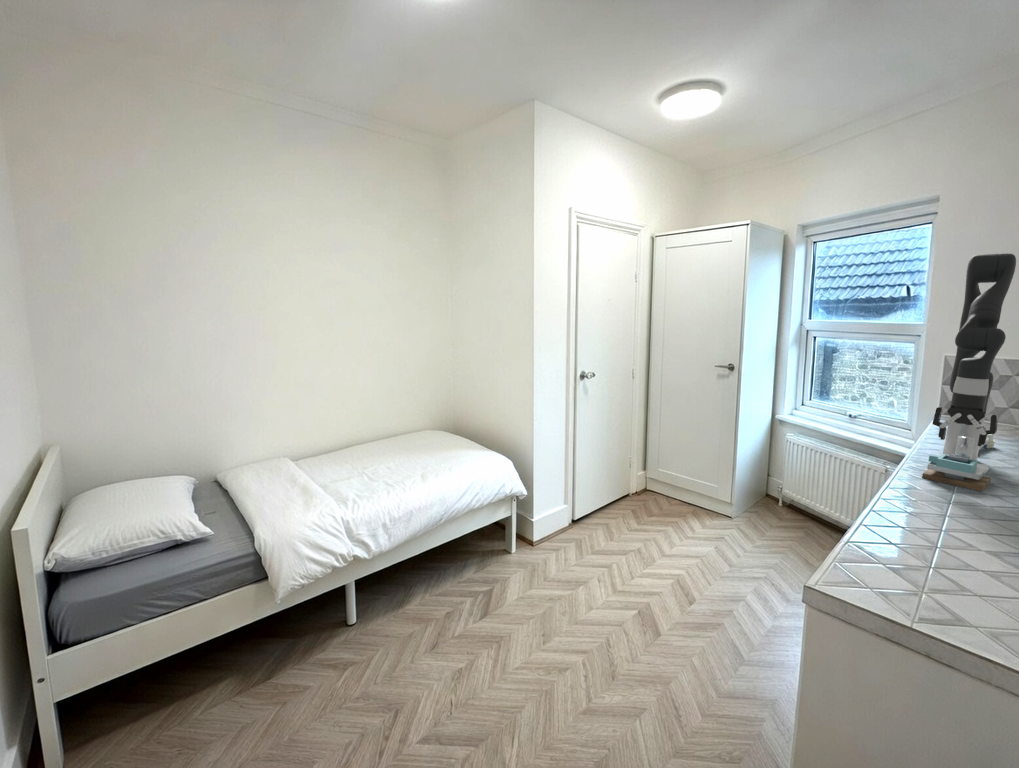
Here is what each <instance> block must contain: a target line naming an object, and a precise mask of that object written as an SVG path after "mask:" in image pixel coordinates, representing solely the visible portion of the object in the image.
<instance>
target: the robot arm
mask: <svg viewBox="0 0 1019 768" xmlns="http://www.w3.org/2000/svg"><path fill="white" fill-rule="evenodd" d="M1016 267H1017V258H1016V255H1015V254H1013V253H1006V252H1005V253H991V254H990V253H988V254H986V253H985V254H976V255H975V254H974V255H973V256H971V258H970V259H969V260H968V263H967V266H966V268H967V269H966V275H965V276H966V277H965V278H966V279H965V291H964V292H965V293H964V301H963V307H962V308H963V309H962V312H961V313H962V314H961V317H960V322H959V329H958V333H957V334H956V336H955V337H954V343H955V346H956V353H955V354H956V355H955V359H954V364H953V368H952V371H951V374H950V375H951V376H950V380H949V390H950V392H951V393H952V395H951V396H952V397H951V400H950V401H951V402H950V406H949V408H948V407H943V406H937V407H936V409H935V411H934V416H933V420H932V425H933V426H936V427H938V428H939V430H938V438H940V441H944V446H943V451H942V455H943V454H946V455H950V454H955V450H956V445H957V439H958V436H968V437H973V438H975V442H974V448H973V453H972V458H971V459H972V460H977V461H978V455H979V452H980V449H979V447H980V446H982V445H984V444H985V443H986V438H987V435H988V434H993V435H994V434H996V433H997V430H998V422H999V421H998V420H999V415H998V414H997V413H993V414H990V413H987V408H988V403H989V399H990V395H991V392H992V388H993V383H994V375H993V372H991V370H992V365H993V362H994V361H995V358H996V356H997V354H998V353H999V352H1000V350H1001V349H1002V347H1003V345H1004V343H1005V342H1006V334H1005V332H1004V331H1003V330H1002V329H1001V328H998V326H999V323H1000V319H1001V314H1002V310H1003V309H1002V307H1003V304H1004V302H1005V301H1004V300H1005V298H1006V296H1007V294H1008V292H1009V289H1010V286H1011V283H1012V282H1013V281H1012V280H1013V278H1014V275H1015V272H1016ZM981 283H982V284H984V283H985V284H986V283H987V284H989V283H994V284H993V285H992V286H991V287H990V288H988V289H987V290H985V291H984V292H981V290H980V285H979V284H981ZM980 352H985V353H984V354H983V355H982V356H978V354H979V353H980ZM975 356H978V357H975ZM945 413H948V415H949V418H948V419H947V420H945V421H944V422H941V418H942V415H944V414H945ZM986 419H987V421H988V422H990V423H989V429H987V428H985V426H984V424H985V420H986Z"/></svg>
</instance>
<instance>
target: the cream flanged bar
mask: <svg viewBox="0 0 1019 768" xmlns="http://www.w3.org/2000/svg"><path fill="white" fill-rule="evenodd" d="M995 444H996V440H995V439H994V434H988V435H987V438H986V443H985V444H984V445H982V446H980V447H979V450H980V449H982V447H983V449H994V447H995Z"/></svg>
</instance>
